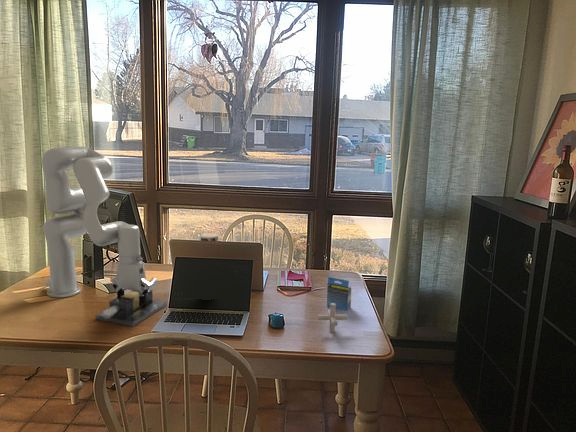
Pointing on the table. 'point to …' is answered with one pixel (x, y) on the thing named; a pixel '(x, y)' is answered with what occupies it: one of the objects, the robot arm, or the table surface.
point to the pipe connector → (332, 317)
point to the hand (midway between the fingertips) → (131, 303)
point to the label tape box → (339, 293)
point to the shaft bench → (136, 314)
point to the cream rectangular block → (133, 299)
